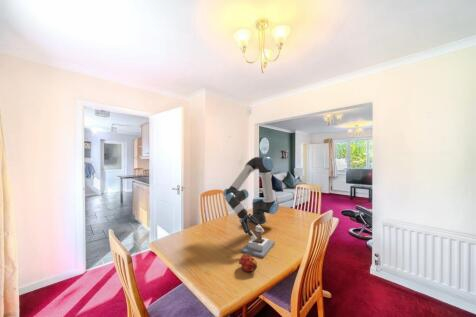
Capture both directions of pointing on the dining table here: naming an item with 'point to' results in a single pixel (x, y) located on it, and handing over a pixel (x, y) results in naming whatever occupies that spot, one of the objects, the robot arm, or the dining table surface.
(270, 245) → the socket board
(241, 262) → the dragon fruit
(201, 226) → the dining table surface
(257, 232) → the cream round-topped cylinder
